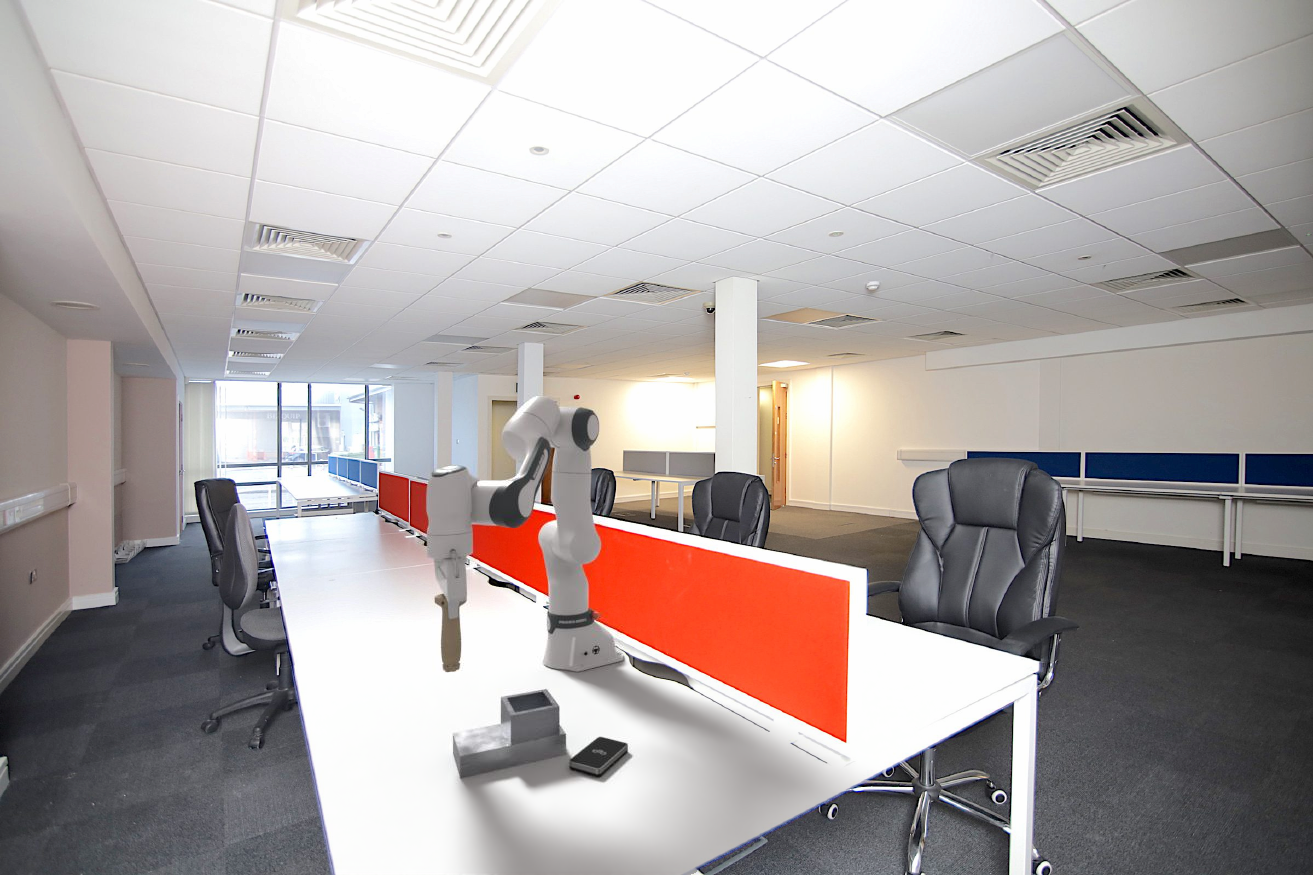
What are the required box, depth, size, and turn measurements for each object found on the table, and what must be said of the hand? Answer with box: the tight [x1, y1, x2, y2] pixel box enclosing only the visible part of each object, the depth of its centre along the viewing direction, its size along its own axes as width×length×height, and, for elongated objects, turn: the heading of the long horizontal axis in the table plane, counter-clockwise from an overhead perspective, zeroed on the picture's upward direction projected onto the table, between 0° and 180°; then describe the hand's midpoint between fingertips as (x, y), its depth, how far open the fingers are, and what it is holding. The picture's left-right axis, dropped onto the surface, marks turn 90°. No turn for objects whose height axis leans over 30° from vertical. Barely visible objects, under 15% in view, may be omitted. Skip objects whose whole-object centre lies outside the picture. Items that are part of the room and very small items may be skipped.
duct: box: [452, 688, 567, 779], centre depth 121 cm, size 20×10×10 cm, turn 115°
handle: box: [434, 593, 468, 673], centre depth 125 cm, size 5×6×15 cm
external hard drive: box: [568, 736, 629, 779], centre depth 118 cm, size 7×11×2 cm, turn 153°
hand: (451, 614), depth 125 cm, fingers closed on handle, 4 cm apart
